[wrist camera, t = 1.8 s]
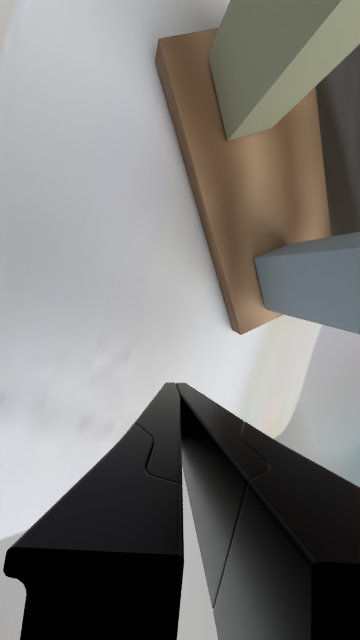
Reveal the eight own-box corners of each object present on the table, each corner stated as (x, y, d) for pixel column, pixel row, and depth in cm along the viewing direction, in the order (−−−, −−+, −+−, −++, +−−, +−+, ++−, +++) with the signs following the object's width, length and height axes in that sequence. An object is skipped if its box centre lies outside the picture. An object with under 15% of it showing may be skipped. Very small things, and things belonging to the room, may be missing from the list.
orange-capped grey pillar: (265, 310, 20) (399, 347, 10) (252, 257, 18) (398, 242, 9) (300, 294, 20) (457, 314, 11) (291, 241, 19) (466, 211, 9)
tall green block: (226, 142, 15) (396, -66, 6) (206, 54, 14) (394, -427, 4) (272, 129, 16) (492, -77, 7) (258, 43, 15) (520, -393, 5)
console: (233, 330, 21) (268, 349, 16) (155, 61, 15) (173, -53, 10) (344, 278, 24) (405, 280, 19) (321, 27, 17) (406, -77, 12)
